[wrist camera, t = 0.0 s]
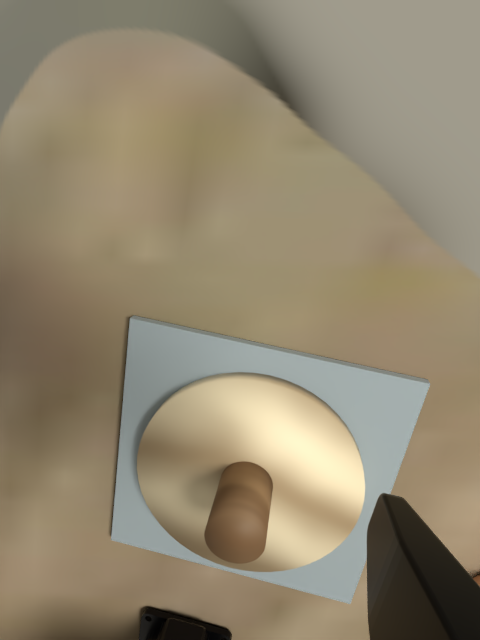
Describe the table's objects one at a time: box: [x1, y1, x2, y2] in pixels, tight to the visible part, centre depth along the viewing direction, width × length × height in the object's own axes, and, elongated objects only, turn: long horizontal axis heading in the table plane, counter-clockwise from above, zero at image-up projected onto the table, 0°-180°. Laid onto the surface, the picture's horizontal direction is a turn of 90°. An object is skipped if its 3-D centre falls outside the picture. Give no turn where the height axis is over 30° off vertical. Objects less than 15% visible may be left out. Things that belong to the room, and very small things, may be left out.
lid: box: [137, 372, 365, 572], centre depth 23 cm, size 13×13×5 cm
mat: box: [111, 315, 430, 604], centre depth 26 cm, size 16×16×1 cm
